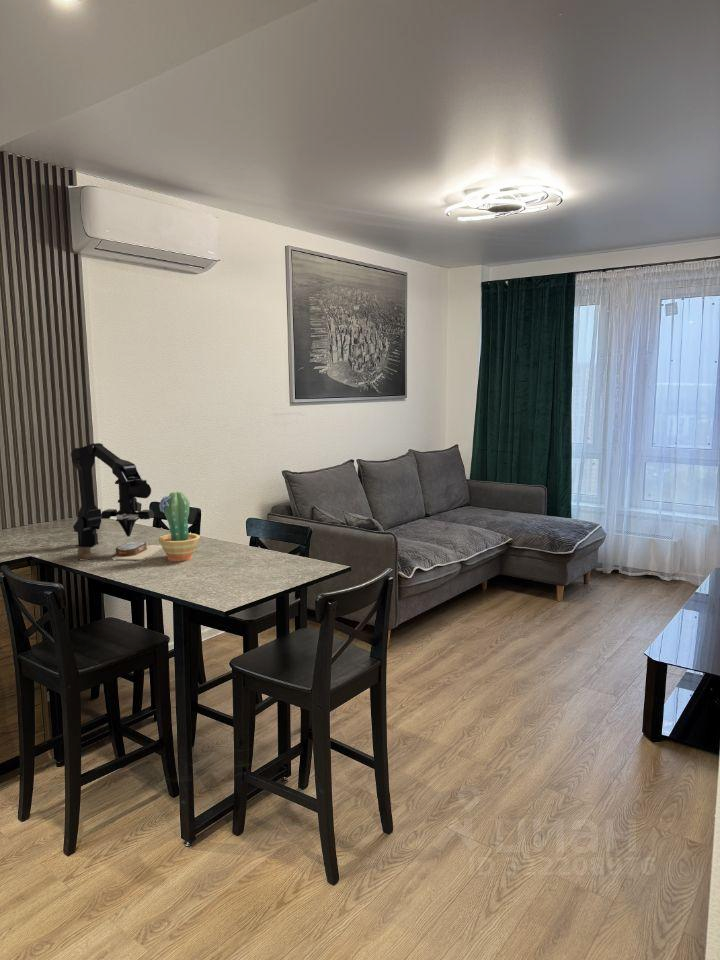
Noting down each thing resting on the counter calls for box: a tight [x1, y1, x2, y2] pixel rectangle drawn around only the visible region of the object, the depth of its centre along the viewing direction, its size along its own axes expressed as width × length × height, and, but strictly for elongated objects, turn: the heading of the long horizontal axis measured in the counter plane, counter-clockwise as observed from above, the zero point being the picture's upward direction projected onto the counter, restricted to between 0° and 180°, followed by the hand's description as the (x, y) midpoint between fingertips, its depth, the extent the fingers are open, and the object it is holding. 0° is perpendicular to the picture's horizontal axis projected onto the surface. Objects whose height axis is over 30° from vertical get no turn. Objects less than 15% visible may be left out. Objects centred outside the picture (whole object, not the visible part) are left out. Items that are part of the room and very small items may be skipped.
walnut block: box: [77, 547, 92, 561], centre depth 245 cm, size 4×4×4 cm
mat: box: [111, 544, 163, 562], centre depth 254 cm, size 12×22×1 cm, turn 176°
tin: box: [115, 541, 148, 557], centre depth 254 cm, size 15×3×8 cm
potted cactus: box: [157, 491, 201, 562], centre depth 246 cm, size 15×15×25 cm
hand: (128, 536), depth 254 cm, fingers closed
